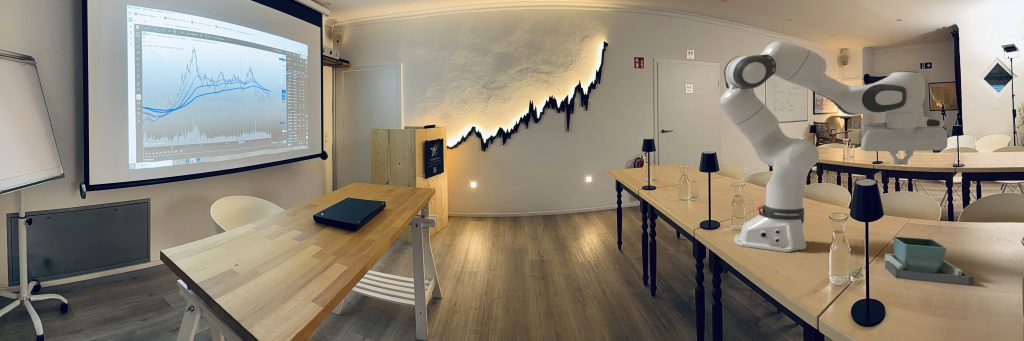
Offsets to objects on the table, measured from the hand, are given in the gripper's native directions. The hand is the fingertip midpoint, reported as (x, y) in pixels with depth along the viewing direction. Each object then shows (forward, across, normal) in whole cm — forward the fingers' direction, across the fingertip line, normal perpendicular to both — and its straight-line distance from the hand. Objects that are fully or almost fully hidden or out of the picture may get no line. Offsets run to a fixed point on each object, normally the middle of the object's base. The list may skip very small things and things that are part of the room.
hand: (900, 164), depth 129 cm
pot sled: (+29, -1, -21) cm, 35 cm away
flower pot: (+29, -2, -21) cm, 36 cm away
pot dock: (+29, -1, -25) cm, 38 cm away
